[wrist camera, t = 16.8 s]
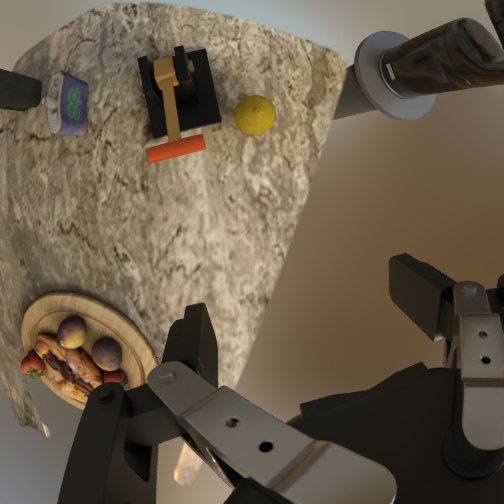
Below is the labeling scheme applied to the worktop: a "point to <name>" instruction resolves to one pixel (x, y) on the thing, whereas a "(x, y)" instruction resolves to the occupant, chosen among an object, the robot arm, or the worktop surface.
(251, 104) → the lemon
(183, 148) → the valve lever
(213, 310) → the worktop surface
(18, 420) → the worktop surface
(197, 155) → the worktop surface
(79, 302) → the wooden plate
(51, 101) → the flask
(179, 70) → the black lever stand
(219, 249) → the worktop surface
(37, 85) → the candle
